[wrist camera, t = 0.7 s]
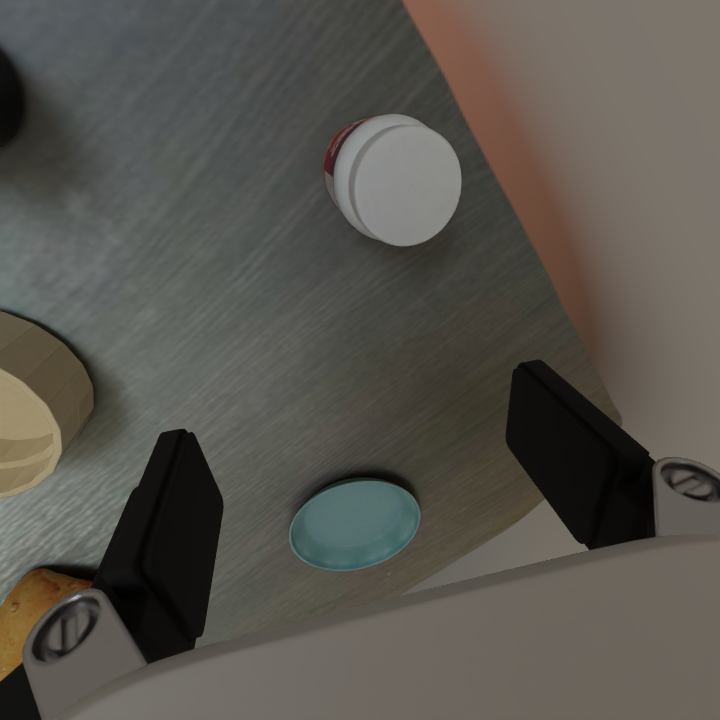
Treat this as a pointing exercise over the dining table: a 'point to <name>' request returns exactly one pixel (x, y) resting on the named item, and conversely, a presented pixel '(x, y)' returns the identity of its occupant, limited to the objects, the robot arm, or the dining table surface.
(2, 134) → the supplement bottle
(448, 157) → the pill bottle
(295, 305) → the dining table surface
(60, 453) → the beige round bowl
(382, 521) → the saucer
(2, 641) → the bread
